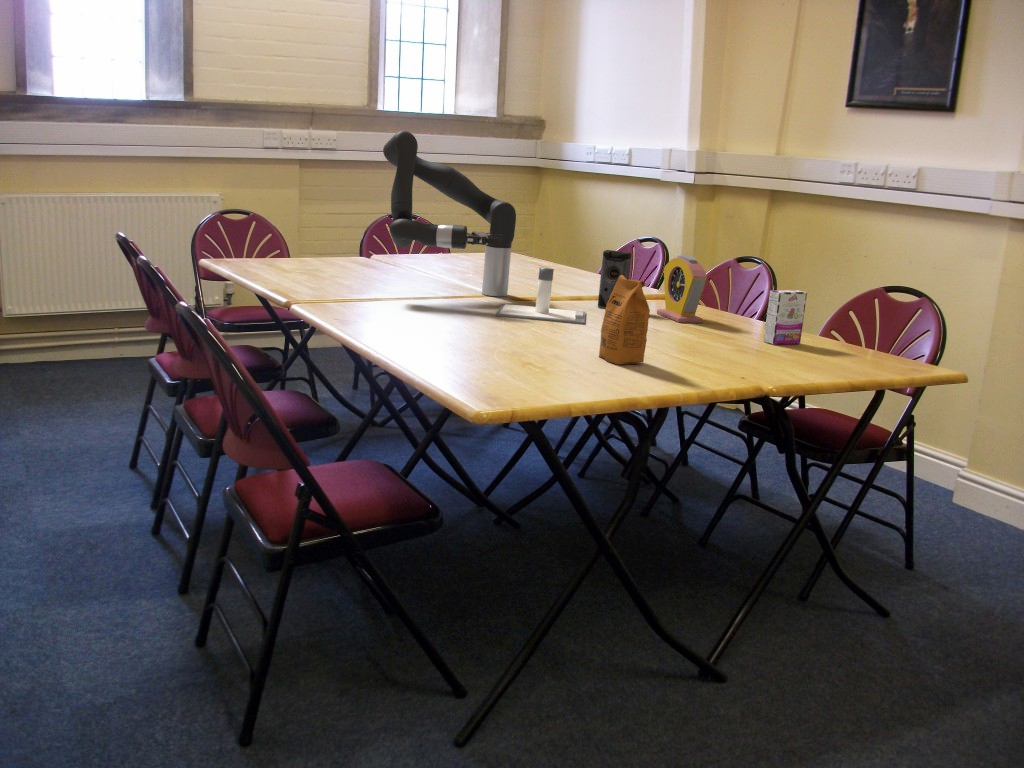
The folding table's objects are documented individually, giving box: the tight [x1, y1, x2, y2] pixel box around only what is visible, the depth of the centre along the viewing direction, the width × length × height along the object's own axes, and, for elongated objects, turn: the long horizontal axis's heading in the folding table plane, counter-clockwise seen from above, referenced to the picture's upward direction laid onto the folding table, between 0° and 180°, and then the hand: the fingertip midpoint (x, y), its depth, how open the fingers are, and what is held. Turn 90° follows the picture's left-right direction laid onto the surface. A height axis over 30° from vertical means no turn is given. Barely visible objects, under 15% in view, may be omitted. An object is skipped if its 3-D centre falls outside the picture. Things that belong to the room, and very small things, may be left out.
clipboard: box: [495, 303, 586, 325], centre depth 318 cm, size 22×28×2 cm
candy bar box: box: [763, 289, 808, 346], centre depth 301 cm, size 11×5×16 cm, turn 117°
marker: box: [535, 267, 555, 313], centre depth 316 cm, size 5×5×14 cm
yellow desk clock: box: [656, 254, 708, 324], centre depth 331 cm, size 22×9×22 cm, turn 18°
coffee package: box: [598, 275, 651, 366], centre depth 254 cm, size 10×12×22 cm
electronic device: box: [597, 249, 632, 310], centre depth 341 cm, size 9×6×20 cm, turn 68°
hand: (501, 239), depth 317 cm, fingers open, 8 cm apart
